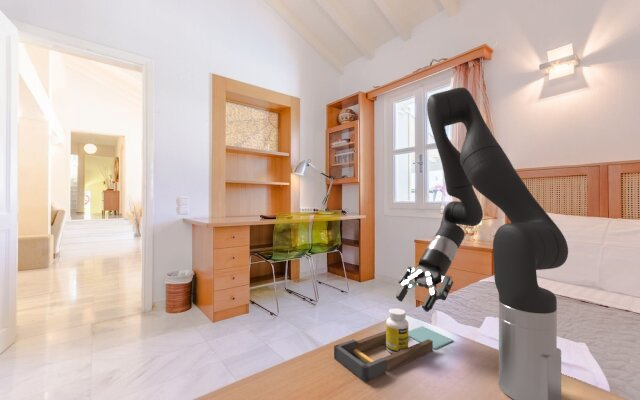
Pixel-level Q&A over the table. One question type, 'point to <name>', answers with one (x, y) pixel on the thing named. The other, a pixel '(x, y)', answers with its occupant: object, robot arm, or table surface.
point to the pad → (429, 336)
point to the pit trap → (359, 361)
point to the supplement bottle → (396, 331)
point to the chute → (398, 357)
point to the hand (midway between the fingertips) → (411, 304)
